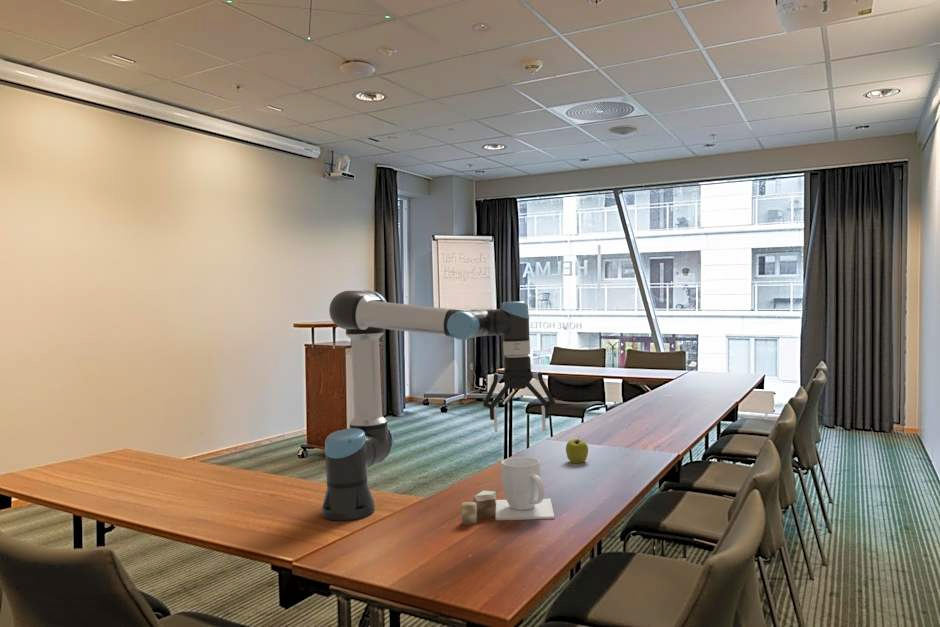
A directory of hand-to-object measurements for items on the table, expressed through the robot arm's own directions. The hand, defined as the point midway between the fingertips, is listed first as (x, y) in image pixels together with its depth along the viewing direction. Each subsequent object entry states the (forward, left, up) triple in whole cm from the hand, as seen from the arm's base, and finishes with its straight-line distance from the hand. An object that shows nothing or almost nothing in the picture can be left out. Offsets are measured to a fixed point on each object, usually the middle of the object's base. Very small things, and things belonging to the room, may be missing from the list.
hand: (520, 430), depth 183 cm
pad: (0, 0, -23) cm, 23 cm away
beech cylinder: (-15, -9, -23) cm, 29 cm away
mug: (0, 0, -22) cm, 22 cm away
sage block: (-11, +3, -23) cm, 26 cm away
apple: (+21, +52, -23) cm, 61 cm away
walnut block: (-11, -4, -23) cm, 25 cm away
